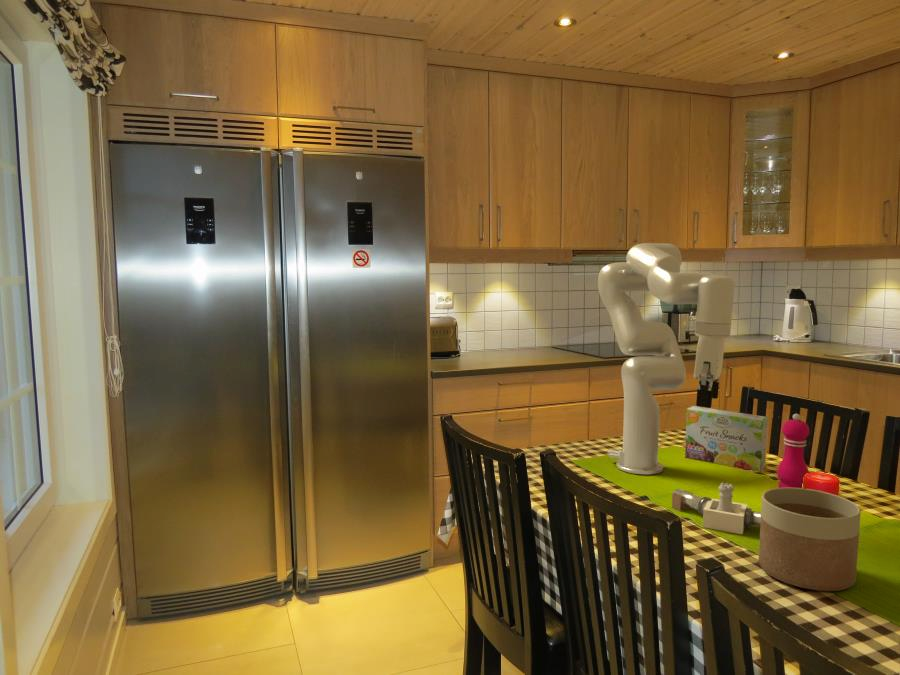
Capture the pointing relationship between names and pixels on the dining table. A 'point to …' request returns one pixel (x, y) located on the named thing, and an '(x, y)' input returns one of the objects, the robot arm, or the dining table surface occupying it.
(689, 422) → the snack box
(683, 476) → the dining table surface
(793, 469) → the pepper mill
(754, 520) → the shaft
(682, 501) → the shaft
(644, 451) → the robot arm
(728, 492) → the rook chess piece
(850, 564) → the planter
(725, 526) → the cream open box
